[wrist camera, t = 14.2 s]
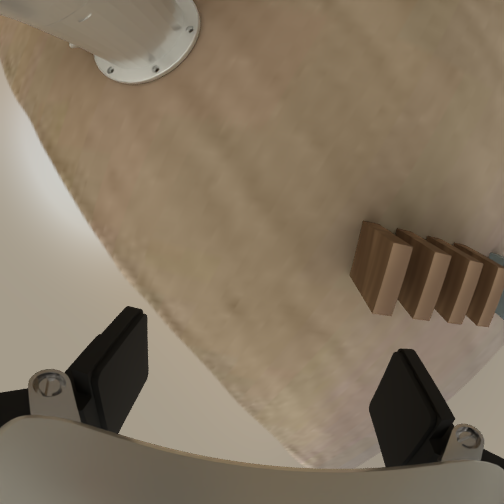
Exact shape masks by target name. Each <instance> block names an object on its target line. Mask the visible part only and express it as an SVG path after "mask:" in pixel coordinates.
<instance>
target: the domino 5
mask: <svg viewBox="0 0 504 504" xmlns="http://www.w3.org/2000/svg"><path fill="white" fill-rule="evenodd" d="M489 259H491V260H493V261H495V262H497V263H498V264H500V265H502V266H503V267H504V257H503V256H501V255H498V254H495V253H490V256H489ZM495 313H496V314H498V315H499V316H500V317H501V318H502V319H503V320H504V289H503V292H502V295H501V297H500V300H499V303H498V305H497V308H496V311H495Z"/></svg>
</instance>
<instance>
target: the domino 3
mask: <svg viewBox="0 0 504 504" xmlns="http://www.w3.org/2000/svg"><path fill="white" fill-rule="evenodd" d="M426 241H428V242H430V243H431V244H433V245H435V246H436V247H438V248H440V249H441V250H443V251H444V252H446V253H448V254H449V255H451V260H450V263H449V266H448V269H447V273H446V276H445V279H444V282H443V285H442V288H441V291H440V294H439V296H438V299H437V302H436V305H435V307H434V309H435V310H436V311H437V312H438V313H439V314H440V315H441V316H442V317H443V318H444V319H445V320H446V322H447V323H453V324H462V322H463V320H464V317H465V315H466V312H467V310H468V307H469V305H470V302H471V299H472V297H473V294H474V291H475V288H476V285H477V283H478V280H479V277H480V274H481V270H482V267H483V263H482V262H480V261H478V260H477V259H475V258H473V257H472V256H470V255H468V254H466V253H465V252H463V251H461V250H459V249H458V248H456V247H454V246H452V245H450V244H449V243H447V242H445V241H443V240H441V239H439V238H435V237H431V236H427V239H426Z"/></svg>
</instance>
